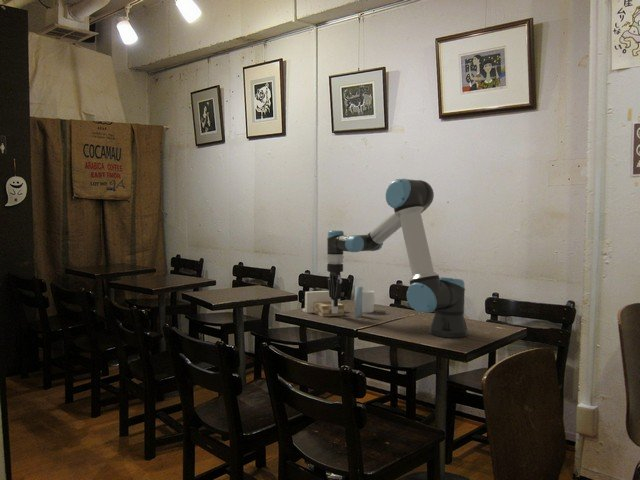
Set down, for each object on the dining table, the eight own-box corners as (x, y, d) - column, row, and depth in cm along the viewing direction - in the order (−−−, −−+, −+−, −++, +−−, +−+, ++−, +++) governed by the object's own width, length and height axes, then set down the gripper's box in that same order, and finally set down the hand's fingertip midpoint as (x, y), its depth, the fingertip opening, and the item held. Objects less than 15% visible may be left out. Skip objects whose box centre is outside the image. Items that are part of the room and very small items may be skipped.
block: (343, 315, 253) (343, 304, 253) (322, 316, 249) (322, 306, 249) (333, 311, 263) (333, 301, 263) (313, 312, 259) (313, 302, 259)
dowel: (363, 316, 251) (363, 287, 250) (356, 317, 249) (357, 287, 248) (359, 315, 254) (360, 286, 253) (353, 315, 252) (354, 286, 252)
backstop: (339, 310, 265) (340, 290, 264) (306, 312, 258) (307, 292, 257) (335, 309, 270) (335, 289, 269) (302, 311, 262) (303, 291, 262)
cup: (353, 311, 264) (354, 291, 263) (366, 308, 273) (367, 288, 273) (367, 313, 259) (368, 293, 258) (380, 310, 268) (381, 290, 268)
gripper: (348, 264, 244) (347, 314, 245) (336, 262, 256) (335, 310, 257) (333, 264, 241) (333, 315, 242) (322, 262, 253) (321, 311, 254)
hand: (334, 313), depth 250 cm, fingers closed
